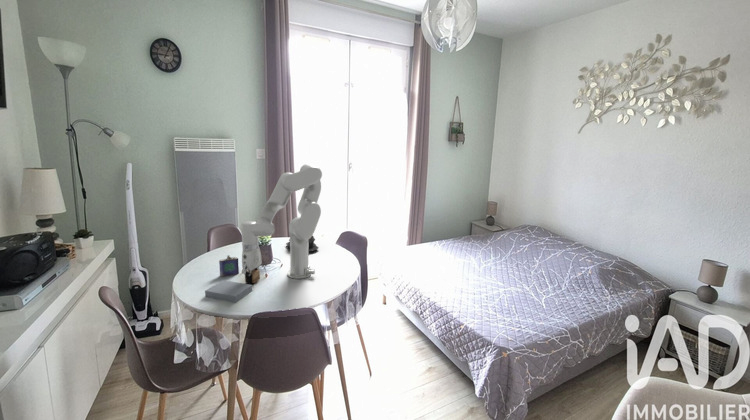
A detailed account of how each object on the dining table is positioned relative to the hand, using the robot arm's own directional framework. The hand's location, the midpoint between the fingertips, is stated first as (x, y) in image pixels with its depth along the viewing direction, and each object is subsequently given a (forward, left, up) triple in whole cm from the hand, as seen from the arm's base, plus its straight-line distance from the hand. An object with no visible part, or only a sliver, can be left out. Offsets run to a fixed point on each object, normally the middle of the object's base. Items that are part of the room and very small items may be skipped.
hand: (252, 279), depth 163 cm
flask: (+16, -4, -2) cm, 17 cm away
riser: (+2, +14, -1) cm, 15 cm away
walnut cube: (0, 0, -1) cm, 1 cm away
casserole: (0, -56, -2) cm, 56 cm away
